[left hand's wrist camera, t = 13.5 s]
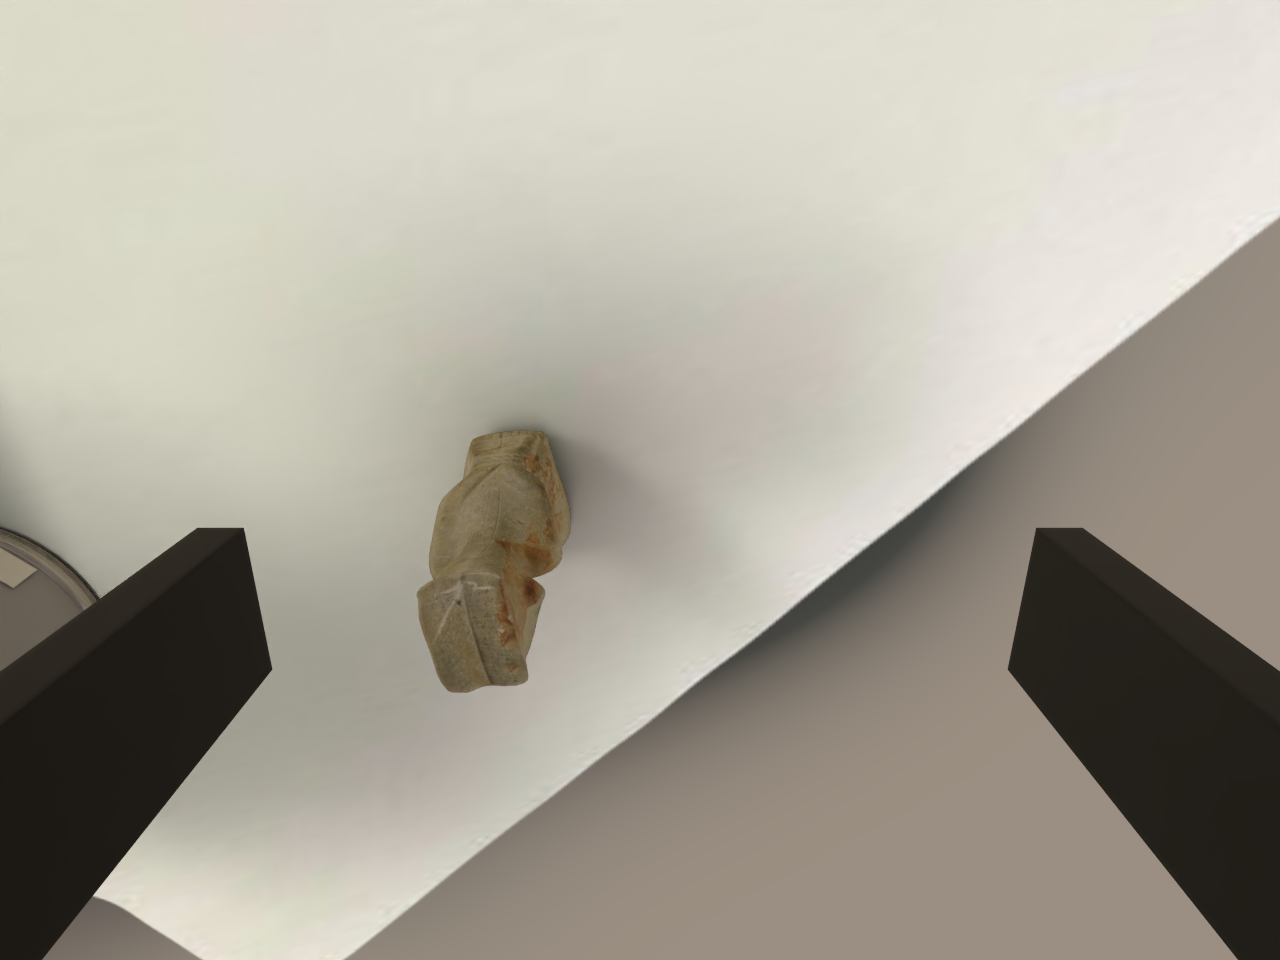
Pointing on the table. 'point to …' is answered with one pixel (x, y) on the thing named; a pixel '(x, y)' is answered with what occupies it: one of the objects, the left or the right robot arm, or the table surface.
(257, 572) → the table surface
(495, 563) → the sculpture
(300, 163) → the table surface
